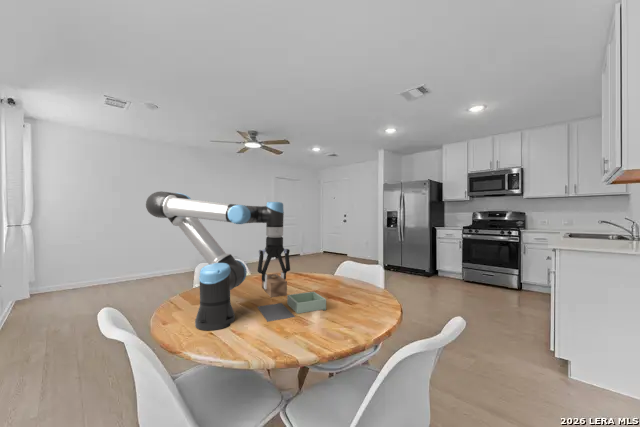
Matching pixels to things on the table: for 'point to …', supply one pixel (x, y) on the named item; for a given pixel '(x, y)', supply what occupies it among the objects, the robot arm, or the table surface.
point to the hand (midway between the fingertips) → (273, 287)
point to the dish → (306, 302)
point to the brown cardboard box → (275, 286)
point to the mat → (275, 312)
